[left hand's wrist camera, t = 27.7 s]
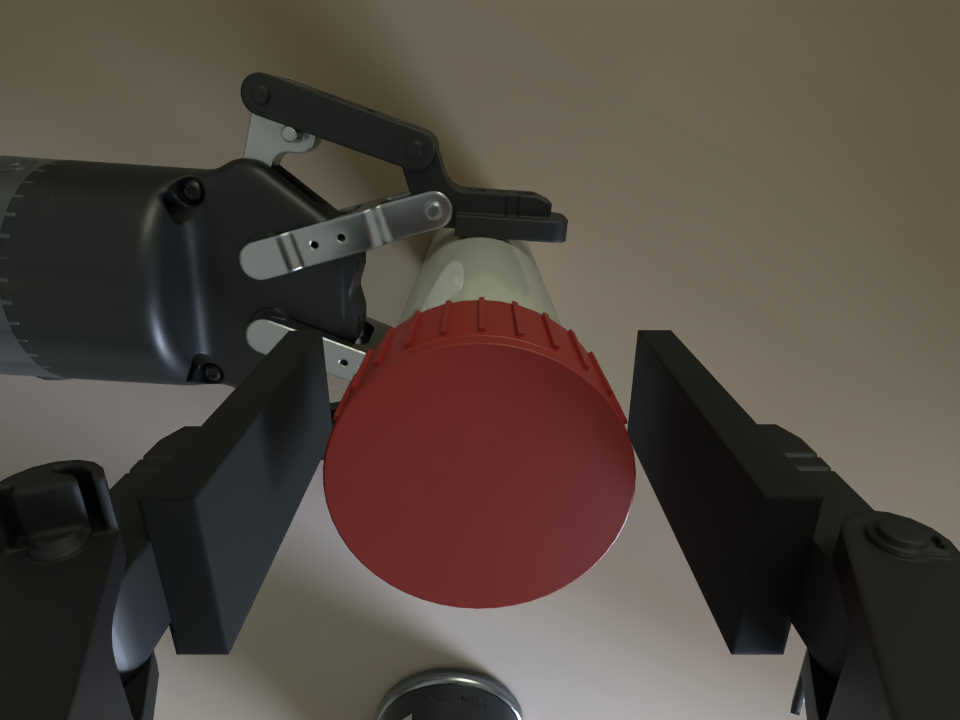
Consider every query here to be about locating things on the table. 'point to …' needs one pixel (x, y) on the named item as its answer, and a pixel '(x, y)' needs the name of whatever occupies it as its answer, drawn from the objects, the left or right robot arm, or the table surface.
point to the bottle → (478, 274)
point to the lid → (479, 457)
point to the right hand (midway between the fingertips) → (553, 301)
